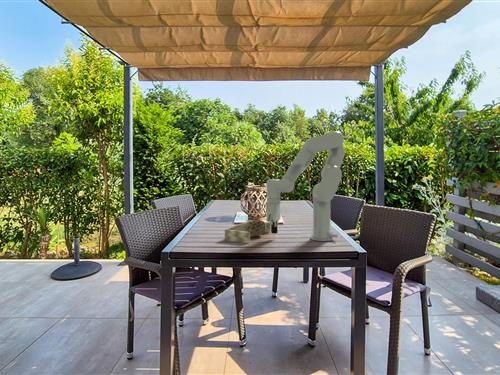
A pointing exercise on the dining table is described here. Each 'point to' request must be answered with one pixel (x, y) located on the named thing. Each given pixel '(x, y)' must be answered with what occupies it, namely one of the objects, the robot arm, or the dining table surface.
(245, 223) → the box
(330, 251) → the dining table surface
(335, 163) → the robot arm
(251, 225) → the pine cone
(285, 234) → the dining table surface
